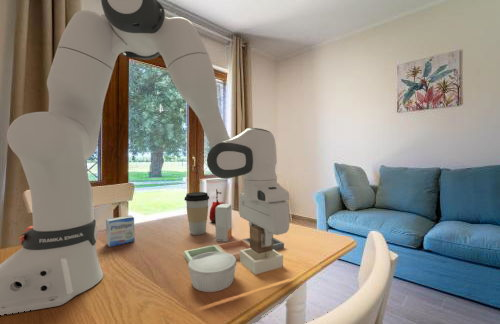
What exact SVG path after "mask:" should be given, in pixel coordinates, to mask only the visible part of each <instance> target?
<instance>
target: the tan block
mask: <svg viewBox="0 0 500 324" xmlns="http://www.w3.org/2000/svg"><path fill="white" fill-rule="evenodd" d="M265 234H266V233H265V232H264V229H263V228H261V227H259V226H257V225H253V226H249V238H250V248H251V249H252V250H254V251H255V252H257V253H258V254H260V253H264V252H268V251H272V250H273V238H274V236H273V237H272V244H271V245H270V246H265V245H264V244H263V238H265Z"/></svg>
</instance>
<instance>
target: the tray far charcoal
mask: <svg viewBox="0 0 500 324" xmlns="http://www.w3.org/2000/svg"><path fill="white" fill-rule="evenodd" d="M242 239H243V240H245V241H246V242H248V243H249V244H250V237H247V238H242ZM284 248H285V242H283V241H281V240H279V239H277V238H275V237H273V249H274V250H275V251H277V250H282V249H284Z"/></svg>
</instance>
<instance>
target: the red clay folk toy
mask: <svg viewBox="0 0 500 324" xmlns="http://www.w3.org/2000/svg"><path fill="white" fill-rule="evenodd" d="M215 189H216V188H215ZM215 191H216V196H215V198H216V201H213V202H211V203H212V204H211V207H210V209H209V218H208V219H209V221H211V223H215V224H216V219H215V208H216V207H217V206H218V205H220V204H225V203H224V202H223V201H221V202H220V201H219V199H218V195H219V194H220V195H222V192H221V191H218V188H217V189H216V190H215Z"/></svg>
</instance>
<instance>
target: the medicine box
mask: <svg viewBox="0 0 500 324" xmlns="http://www.w3.org/2000/svg"><path fill="white" fill-rule="evenodd" d="M105 230H106V231H105V233H106V245H107V246H108V247H109V248H113V247H112V246H114V247H117V246H116V245H118V246H121V244H122V245H125V243H126V244H129V242H130V243H133V242H135V217H133V215H125V216H119V217H112V218H106V219H105Z"/></svg>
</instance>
